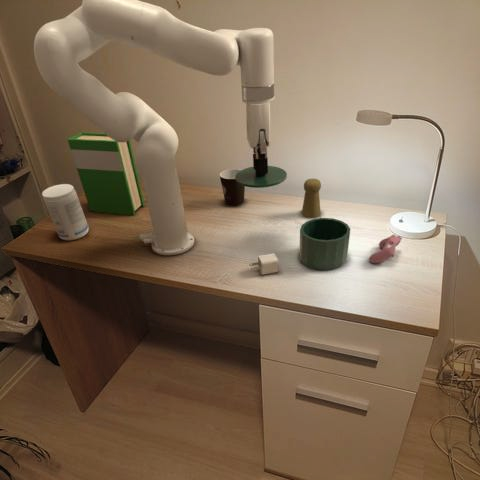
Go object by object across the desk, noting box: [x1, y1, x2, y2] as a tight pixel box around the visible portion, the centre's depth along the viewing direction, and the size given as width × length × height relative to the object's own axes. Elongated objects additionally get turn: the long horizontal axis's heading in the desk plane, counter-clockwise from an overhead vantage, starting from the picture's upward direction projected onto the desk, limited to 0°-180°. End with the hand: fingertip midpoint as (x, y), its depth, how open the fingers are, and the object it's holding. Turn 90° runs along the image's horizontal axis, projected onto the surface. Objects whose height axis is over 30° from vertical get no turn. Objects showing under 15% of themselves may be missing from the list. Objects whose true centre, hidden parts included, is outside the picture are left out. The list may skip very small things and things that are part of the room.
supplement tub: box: [41, 183, 90, 241], centre depth 128 cm, size 10×10×15 cm
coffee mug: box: [219, 168, 246, 207], centre depth 141 cm, size 12×9×10 cm
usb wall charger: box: [248, 253, 279, 276], centre depth 108 cm, size 4×7×4 cm, turn 102°
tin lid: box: [235, 150, 288, 189], centre depth 108 cm, size 14×14×7 cm
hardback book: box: [67, 131, 146, 216], centre depth 137 cm, size 18×7×24 cm, turn 71°
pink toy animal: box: [368, 233, 403, 264], centre depth 109 cm, size 10×5×7 cm, turn 148°
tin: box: [298, 217, 351, 271], centre depth 110 cm, size 13×13×8 cm
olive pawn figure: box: [301, 178, 322, 219], centre depth 129 cm, size 6×6×11 cm
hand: (260, 170), depth 108 cm, fingers closed on tin lid, 2 cm apart
